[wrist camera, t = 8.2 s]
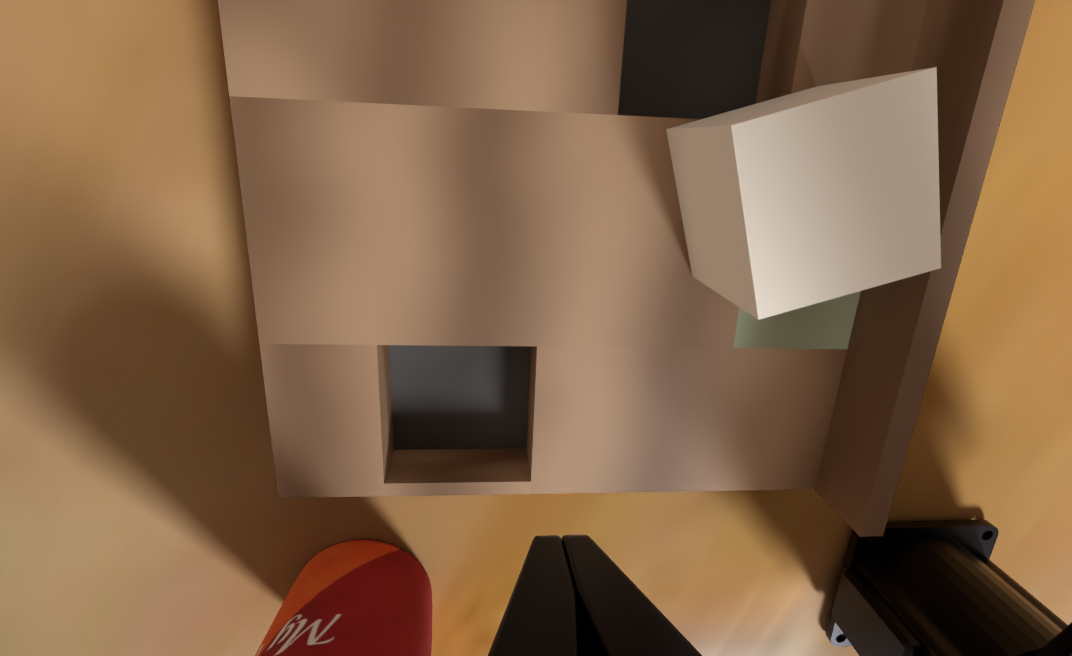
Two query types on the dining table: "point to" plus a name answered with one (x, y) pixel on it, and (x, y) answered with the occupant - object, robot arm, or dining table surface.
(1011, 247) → the dining table surface
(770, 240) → the block
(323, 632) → the paper cup
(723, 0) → the trap board
